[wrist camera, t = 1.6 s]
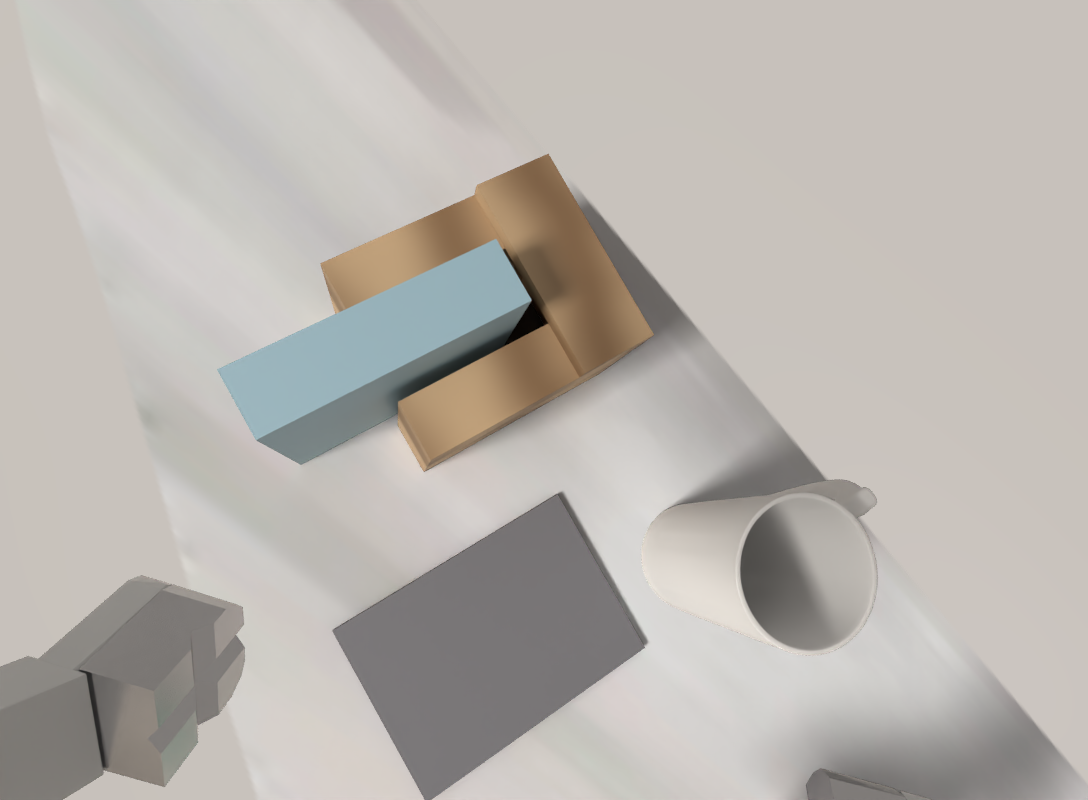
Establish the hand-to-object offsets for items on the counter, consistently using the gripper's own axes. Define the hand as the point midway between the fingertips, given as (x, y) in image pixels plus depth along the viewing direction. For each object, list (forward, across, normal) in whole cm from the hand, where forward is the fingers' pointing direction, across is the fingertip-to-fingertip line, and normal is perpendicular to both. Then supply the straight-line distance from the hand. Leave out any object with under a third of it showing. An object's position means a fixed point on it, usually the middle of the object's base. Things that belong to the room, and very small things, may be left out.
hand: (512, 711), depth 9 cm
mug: (+28, -8, +15) cm, 33 cm away
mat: (+20, +2, +20) cm, 29 cm away
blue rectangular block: (+26, +12, +10) cm, 30 cm away
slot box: (+29, +8, +7) cm, 31 cm away
